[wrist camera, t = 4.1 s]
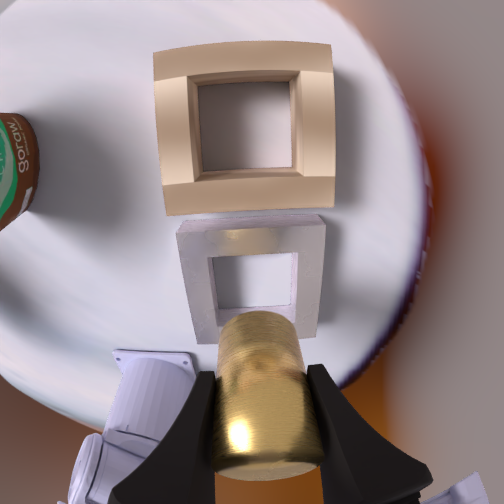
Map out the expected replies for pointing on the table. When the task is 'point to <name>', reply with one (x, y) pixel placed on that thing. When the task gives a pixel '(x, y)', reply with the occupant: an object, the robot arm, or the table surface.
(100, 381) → the table surface
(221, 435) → the peg
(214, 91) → the table surface
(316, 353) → the table surface
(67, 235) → the table surface
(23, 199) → the food container
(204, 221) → the socket block
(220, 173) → the beige square frame
